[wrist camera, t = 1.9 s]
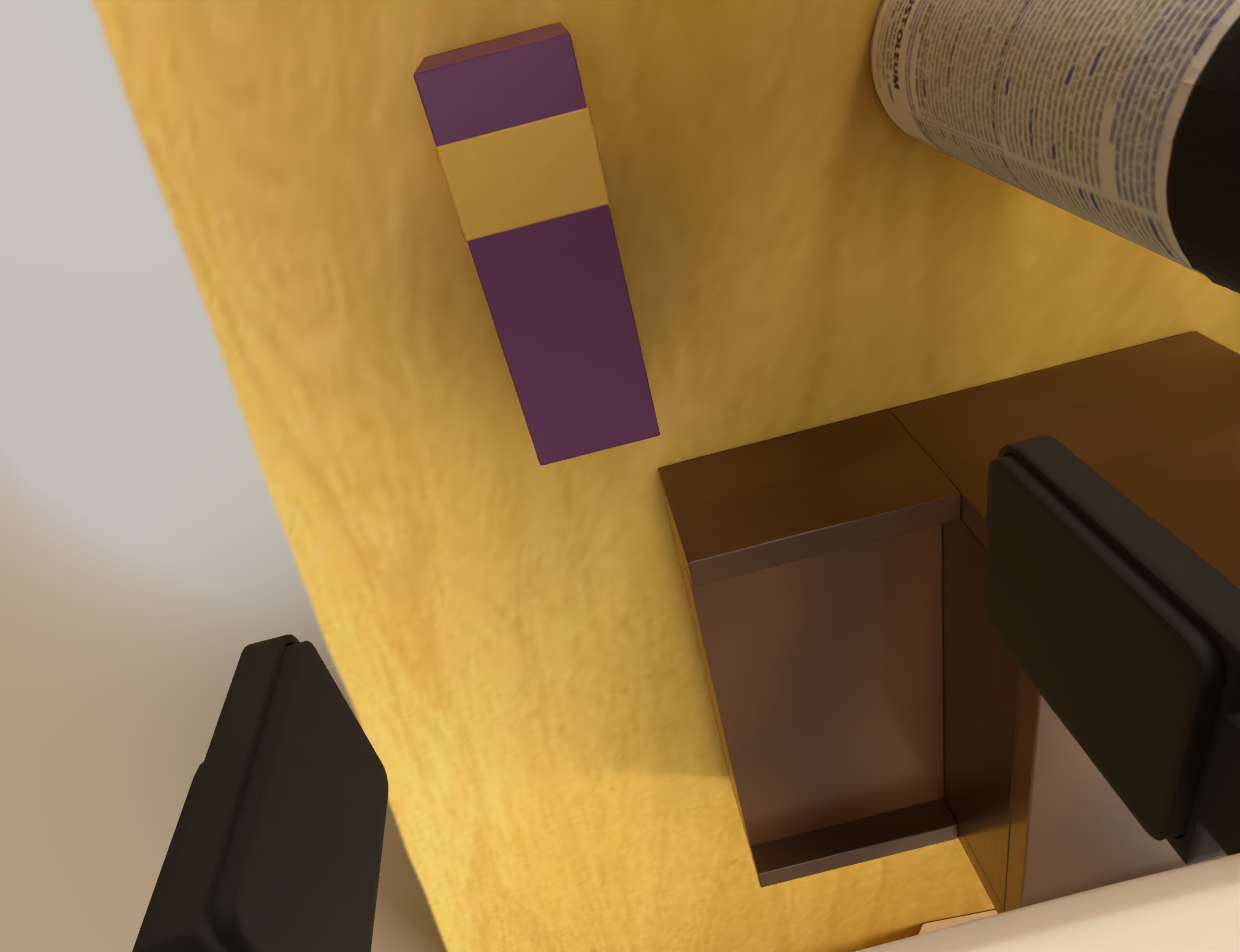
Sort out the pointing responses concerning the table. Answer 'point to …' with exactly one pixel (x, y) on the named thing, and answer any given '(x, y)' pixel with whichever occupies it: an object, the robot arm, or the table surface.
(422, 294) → the table surface
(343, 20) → the table surface
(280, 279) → the table surface
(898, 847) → the step rack
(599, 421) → the purple banded block
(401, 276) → the table surface
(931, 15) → the spray can
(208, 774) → the robot arm
